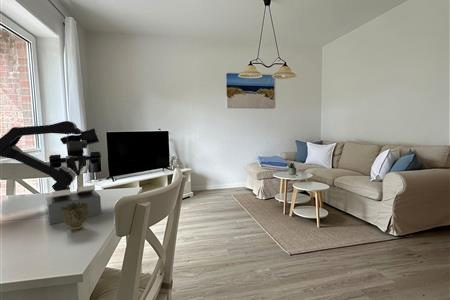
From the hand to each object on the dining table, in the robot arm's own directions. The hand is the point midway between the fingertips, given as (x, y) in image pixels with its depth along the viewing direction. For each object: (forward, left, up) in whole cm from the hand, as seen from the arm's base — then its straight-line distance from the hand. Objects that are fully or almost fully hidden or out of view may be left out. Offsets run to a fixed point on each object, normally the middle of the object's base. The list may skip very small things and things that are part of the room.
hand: (78, 175), depth 101 cm
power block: (+9, -3, -13) cm, 17 cm away
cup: (+26, -5, -14) cm, 30 cm away
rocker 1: (+11, -7, -5) cm, 14 cm away
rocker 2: (+11, +1, -5) cm, 12 cm away
